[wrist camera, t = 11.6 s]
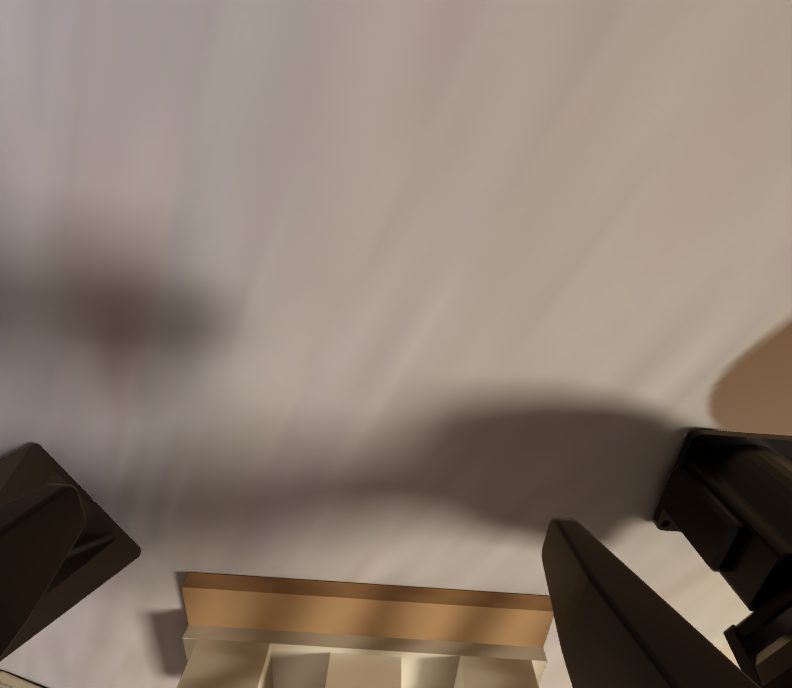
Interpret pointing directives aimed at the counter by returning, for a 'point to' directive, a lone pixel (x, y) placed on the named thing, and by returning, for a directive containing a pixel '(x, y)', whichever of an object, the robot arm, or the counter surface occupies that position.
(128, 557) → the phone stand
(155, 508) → the counter surface
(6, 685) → the coffee box
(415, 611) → the board
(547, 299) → the counter surface
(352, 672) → the block
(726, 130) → the counter surface
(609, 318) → the counter surface
